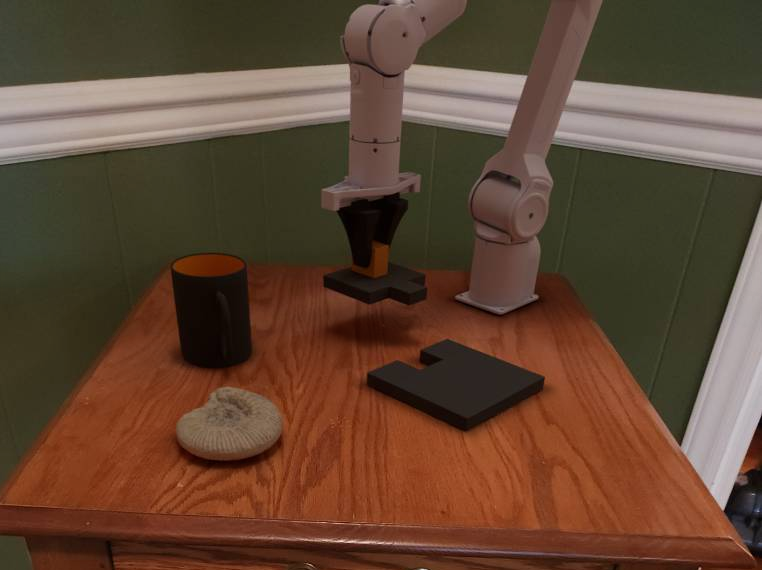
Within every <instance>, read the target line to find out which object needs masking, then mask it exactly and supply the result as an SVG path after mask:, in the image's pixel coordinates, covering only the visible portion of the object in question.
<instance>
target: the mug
mask: <svg viewBox="0 0 762 570" xmlns="http://www.w3.org/2000/svg"><path fill="white" fill-rule="evenodd" d="M169 267H170V275H171V283H172V291H173V300H174V308H175V314H176V322H177V330H178V337H179V346H180V354H181V357H182V359H183V360H184V361H185V362H186V363H188V364H190V365H193V366H194V367H195V366H196V367H199V368H207V369H208V368H209V369H221V368H222V369H223V368H228V367H234V366H237V365H239V364H243V362H246V361H247V360H249V359H250V357H251V356H252V354H253V344H252V341H253V340H252V328H251V326H252V325H251V312H250V310H251V309H250V297H249V295H250V293H249V281H248V279H249V278H248V267H247V261H245V259H244V258H241V257H240V256H237V255H234V254H231V253H223V252H198V253H192V254H187V255H183V256H180V257H178V258H176V259H174V260H173V261H172V262H171V263H170V266H169Z"/></svg>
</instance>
